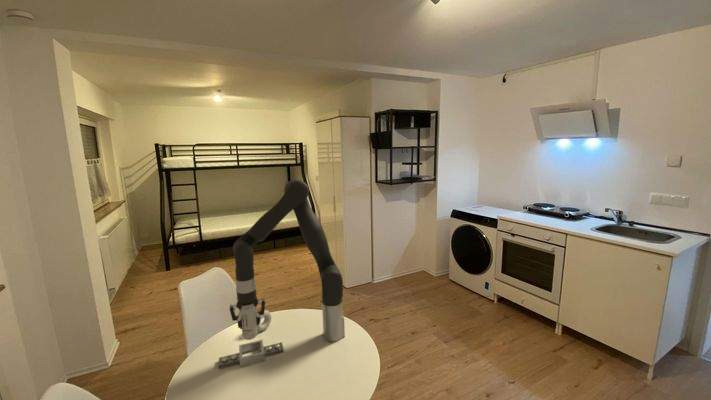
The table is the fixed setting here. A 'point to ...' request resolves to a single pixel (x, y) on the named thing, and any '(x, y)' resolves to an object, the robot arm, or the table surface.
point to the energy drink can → (249, 322)
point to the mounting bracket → (250, 359)
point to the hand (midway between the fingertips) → (249, 325)
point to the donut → (266, 321)
